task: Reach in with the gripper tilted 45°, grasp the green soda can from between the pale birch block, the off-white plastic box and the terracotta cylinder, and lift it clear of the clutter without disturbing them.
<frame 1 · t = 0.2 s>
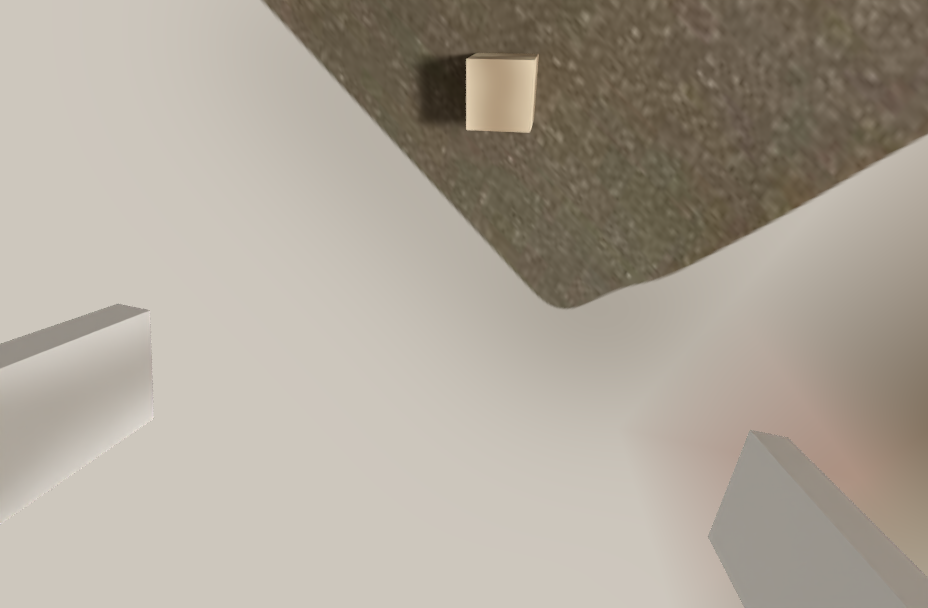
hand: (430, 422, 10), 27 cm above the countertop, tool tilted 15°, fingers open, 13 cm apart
birch block: (506, 86, 32), on the countertop
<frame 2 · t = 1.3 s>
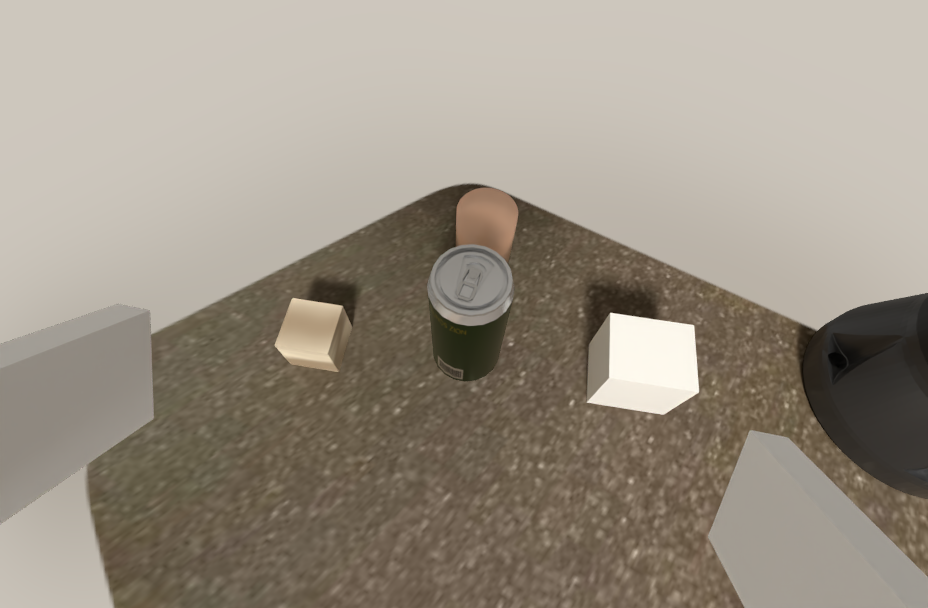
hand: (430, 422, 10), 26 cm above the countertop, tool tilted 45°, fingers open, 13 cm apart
green soda can: (465, 353, 39), on the countertop
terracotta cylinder: (482, 253, 43), on the countertop
off-white plastic box: (624, 378, 38), on the countertop
birch block: (322, 345, 39), on the countertop
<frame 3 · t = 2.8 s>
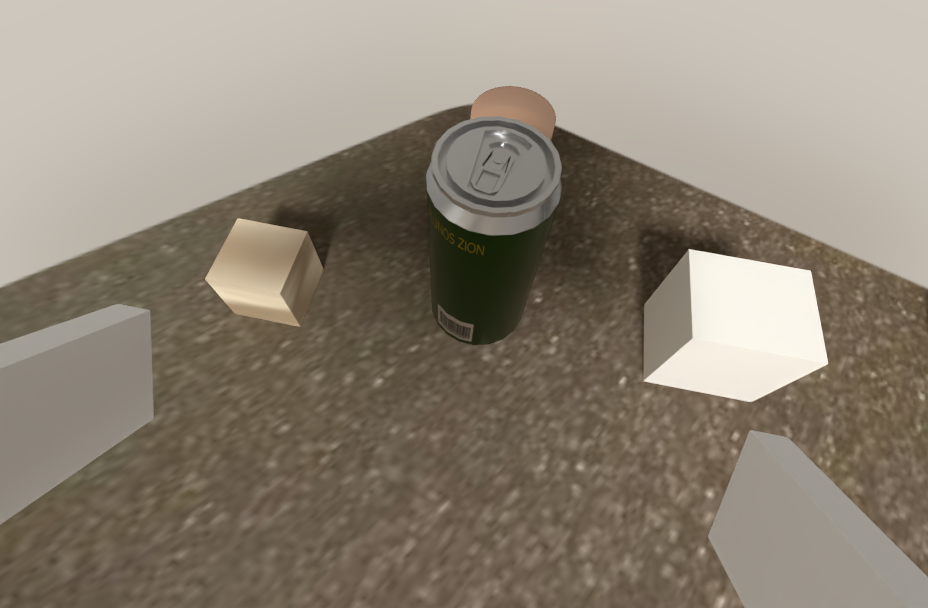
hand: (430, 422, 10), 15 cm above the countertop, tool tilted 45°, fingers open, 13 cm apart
green soda can: (476, 310, 28), on the countertop
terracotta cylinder: (502, 185, 33), on the countertop
off-white plastic box: (694, 351, 28), on the countertop
birch block: (281, 291, 28), on the countertop
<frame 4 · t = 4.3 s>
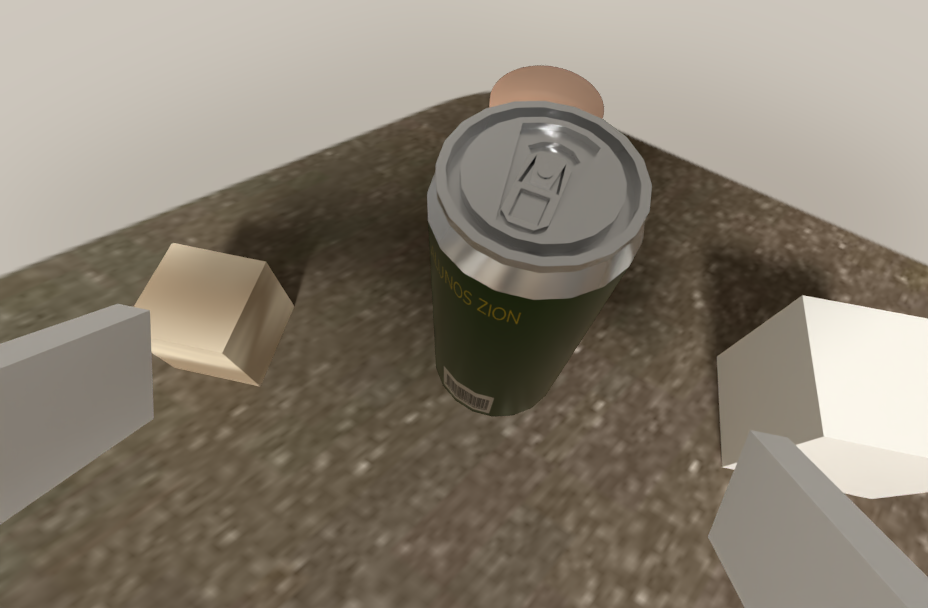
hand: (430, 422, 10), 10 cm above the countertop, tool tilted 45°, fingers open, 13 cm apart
green soda can: (494, 363, 21), on the countertop
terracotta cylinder: (526, 194, 26), on the countertop
off-white plastic box: (788, 423, 21), on the countertop
birch block: (237, 336, 22), on the countertop
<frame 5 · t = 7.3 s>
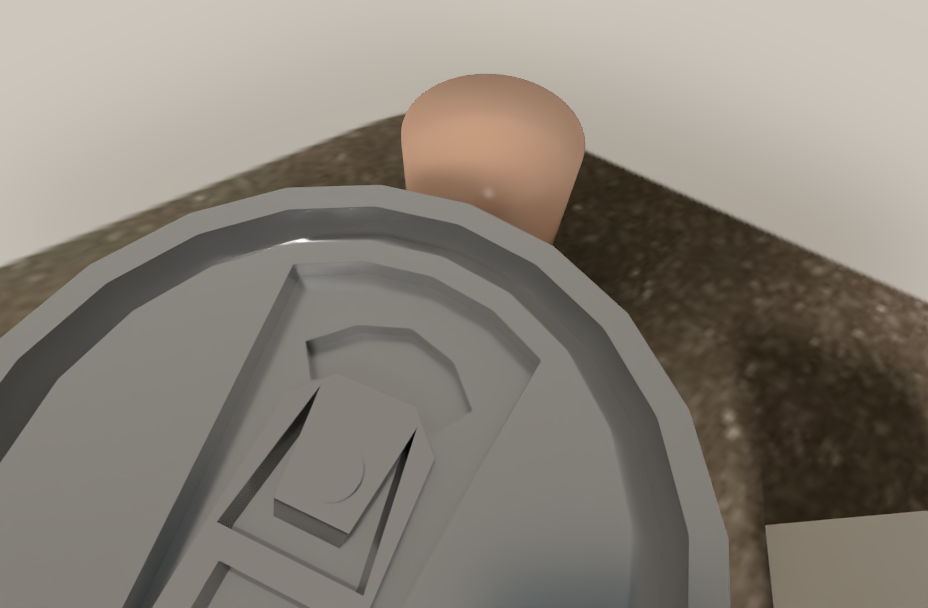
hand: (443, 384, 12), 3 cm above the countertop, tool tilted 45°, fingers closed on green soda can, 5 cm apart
green soda can: (416, 544, 14), on the countertop, touching gripper
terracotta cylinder: (478, 257, 18), on the countertop
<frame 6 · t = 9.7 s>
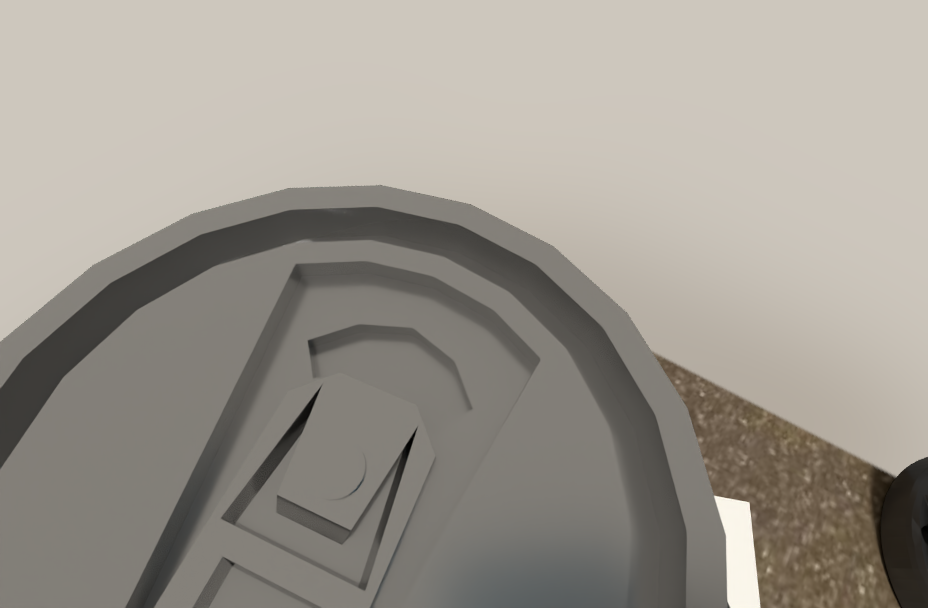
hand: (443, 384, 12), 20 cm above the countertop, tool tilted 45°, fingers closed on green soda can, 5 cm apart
green soda can: (416, 543, 14), point 17 cm above the countertop, touching gripper
off-white plastic box: (647, 545, 29), on the countertop
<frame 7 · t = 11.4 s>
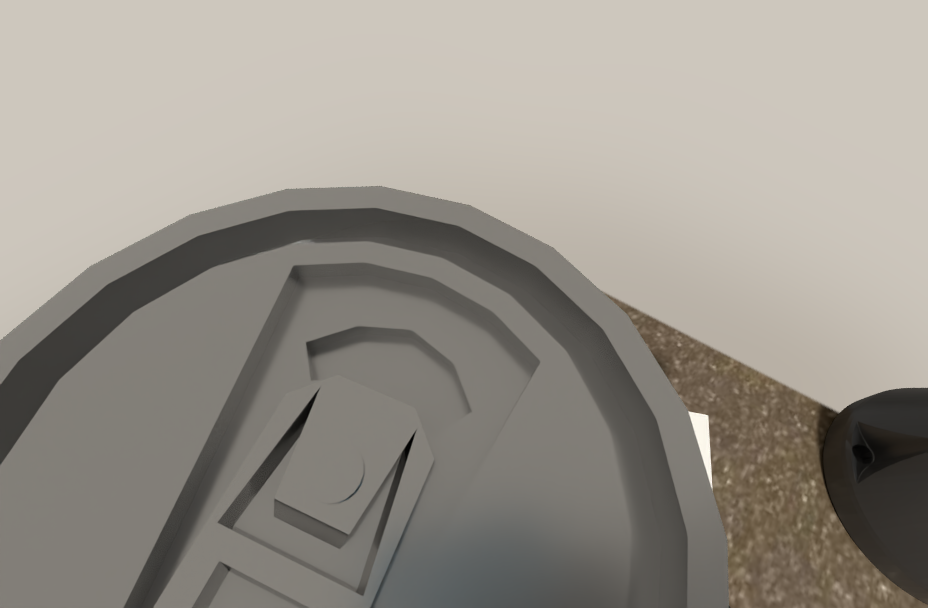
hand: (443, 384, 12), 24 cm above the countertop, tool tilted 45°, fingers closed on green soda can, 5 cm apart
green soda can: (416, 544, 14), point 21 cm above the countertop, touching gripper
off-white plastic box: (629, 461, 35), on the countertop
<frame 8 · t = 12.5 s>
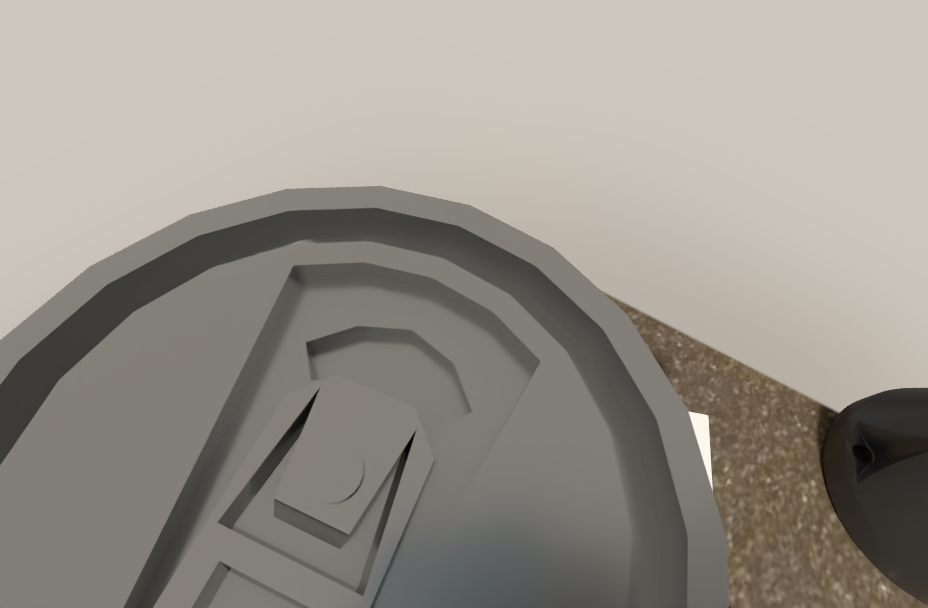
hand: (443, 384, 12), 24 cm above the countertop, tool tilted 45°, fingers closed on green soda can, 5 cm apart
green soda can: (416, 544, 14), point 21 cm above the countertop, touching gripper
off-white plastic box: (629, 461, 35), on the countertop
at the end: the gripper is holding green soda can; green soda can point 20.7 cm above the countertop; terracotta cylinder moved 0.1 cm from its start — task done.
